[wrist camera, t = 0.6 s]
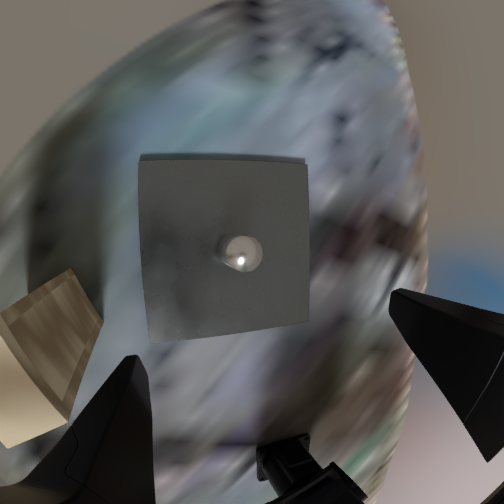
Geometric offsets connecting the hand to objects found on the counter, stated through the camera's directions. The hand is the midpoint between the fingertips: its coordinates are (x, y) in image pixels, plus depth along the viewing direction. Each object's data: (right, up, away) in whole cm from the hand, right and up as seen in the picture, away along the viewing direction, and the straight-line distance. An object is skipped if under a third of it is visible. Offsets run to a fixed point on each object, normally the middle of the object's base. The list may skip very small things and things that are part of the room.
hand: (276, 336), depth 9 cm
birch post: (-16, -2, +10) cm, 19 cm away
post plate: (-3, +3, +14) cm, 15 cm away
